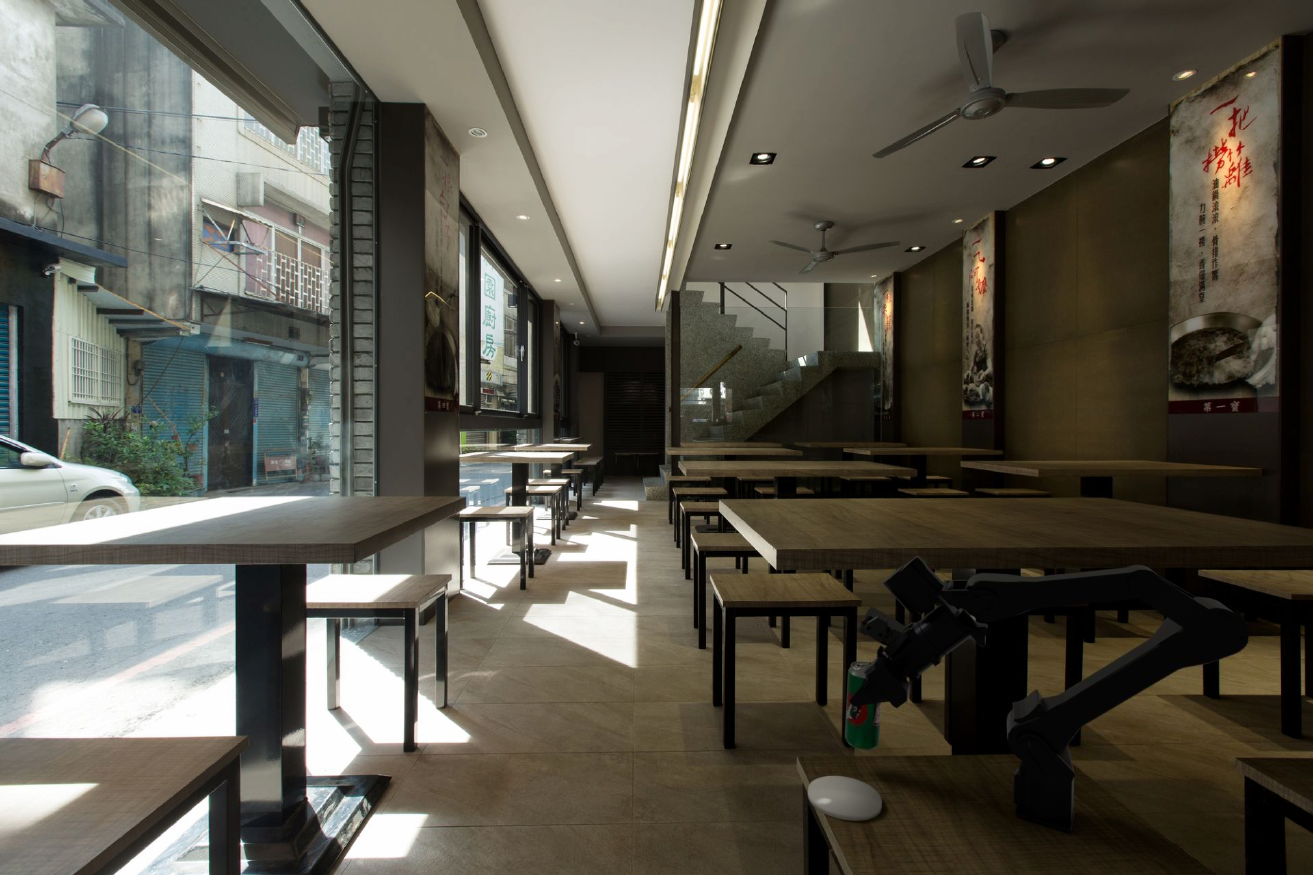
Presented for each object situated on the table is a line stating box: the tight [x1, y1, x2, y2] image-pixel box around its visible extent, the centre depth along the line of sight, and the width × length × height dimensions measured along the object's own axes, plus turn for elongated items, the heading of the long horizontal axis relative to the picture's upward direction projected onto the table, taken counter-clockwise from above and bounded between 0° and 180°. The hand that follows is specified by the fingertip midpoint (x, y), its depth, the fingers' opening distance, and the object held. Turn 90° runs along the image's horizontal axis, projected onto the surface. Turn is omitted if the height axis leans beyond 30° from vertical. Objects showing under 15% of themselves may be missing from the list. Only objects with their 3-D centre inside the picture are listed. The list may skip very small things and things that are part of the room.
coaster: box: [807, 775, 883, 822], centre depth 93 cm, size 10×10×1 cm
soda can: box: [844, 661, 882, 751], centre depth 102 cm, size 5×5×12 cm
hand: (854, 697), depth 103 cm, fingers closed on soda can, 5 cm apart
